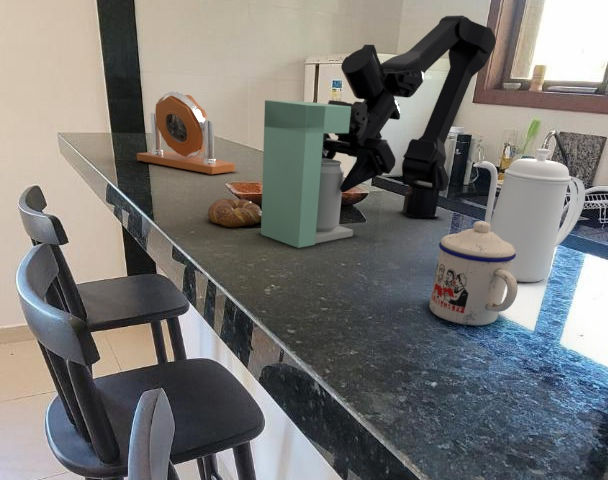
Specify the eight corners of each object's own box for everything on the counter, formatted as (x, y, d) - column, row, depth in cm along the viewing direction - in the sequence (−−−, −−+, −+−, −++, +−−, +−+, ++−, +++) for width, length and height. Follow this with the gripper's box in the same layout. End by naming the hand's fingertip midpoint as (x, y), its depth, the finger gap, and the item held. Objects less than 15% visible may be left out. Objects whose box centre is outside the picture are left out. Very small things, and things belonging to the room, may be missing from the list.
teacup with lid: (413, 303, 70) (428, 215, 65) (467, 297, 74) (486, 212, 69) (472, 341, 61) (496, 241, 55) (531, 332, 64) (559, 237, 59)
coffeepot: (427, 269, 84) (450, 142, 76) (536, 257, 95) (567, 145, 86) (475, 292, 76) (508, 153, 67) (589, 276, 87) (629, 154, 78)
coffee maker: (317, 225, 105) (326, 102, 95) (354, 236, 99) (369, 107, 89) (260, 234, 96) (264, 100, 86) (298, 248, 90) (307, 105, 80)
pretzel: (252, 231, 98) (253, 211, 96) (196, 224, 99) (196, 204, 98) (269, 218, 108) (270, 199, 106) (218, 212, 110) (218, 193, 108)
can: (324, 235, 94) (330, 164, 89) (290, 227, 98) (294, 158, 92) (345, 228, 100) (352, 160, 94) (312, 220, 103) (317, 155, 98)
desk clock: (210, 176, 148) (209, 95, 138) (135, 161, 161) (130, 87, 152) (238, 172, 157) (239, 96, 148) (165, 158, 171) (161, 88, 161)
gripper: (314, 80, 97) (265, 146, 95) (395, 86, 85) (342, 162, 83) (339, 127, 105) (295, 188, 104) (416, 138, 94) (368, 207, 92)
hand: (322, 186), depth 95 cm, fingers open, 9 cm apart
